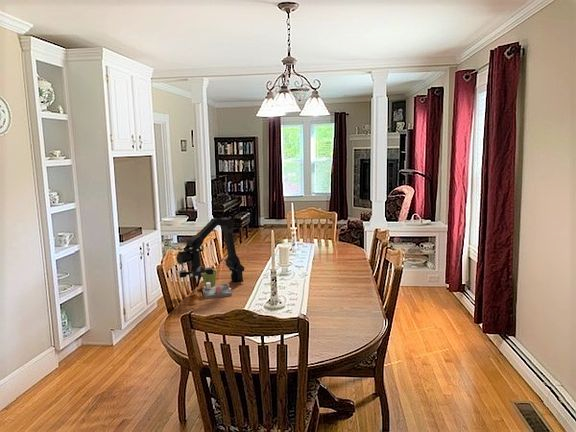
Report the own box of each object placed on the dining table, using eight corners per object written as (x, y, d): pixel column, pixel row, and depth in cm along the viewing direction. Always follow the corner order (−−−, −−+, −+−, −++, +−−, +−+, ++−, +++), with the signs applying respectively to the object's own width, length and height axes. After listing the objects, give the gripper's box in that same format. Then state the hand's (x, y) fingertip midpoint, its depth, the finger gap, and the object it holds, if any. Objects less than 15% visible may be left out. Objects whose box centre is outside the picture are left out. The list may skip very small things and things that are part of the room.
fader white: (210, 287, 262) (210, 282, 262) (211, 288, 259) (210, 283, 259) (206, 287, 262) (206, 282, 262) (206, 289, 258) (206, 284, 258)
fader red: (220, 290, 255) (219, 285, 254) (220, 292, 251) (220, 287, 251) (215, 291, 254) (215, 285, 254) (216, 292, 251) (215, 287, 250)
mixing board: (228, 286, 268) (228, 281, 267) (232, 295, 250) (231, 290, 250) (202, 289, 264) (201, 285, 264) (204, 298, 247) (203, 293, 247)
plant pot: (202, 288, 266) (201, 274, 265) (201, 284, 275) (200, 270, 274) (218, 286, 268) (217, 272, 267) (217, 282, 277) (216, 268, 276)
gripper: (178, 265, 247) (180, 293, 249) (213, 261, 251) (215, 289, 253) (178, 260, 257) (180, 287, 260) (211, 257, 262) (213, 283, 264)
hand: (197, 287), depth 259 cm, fingers closed
